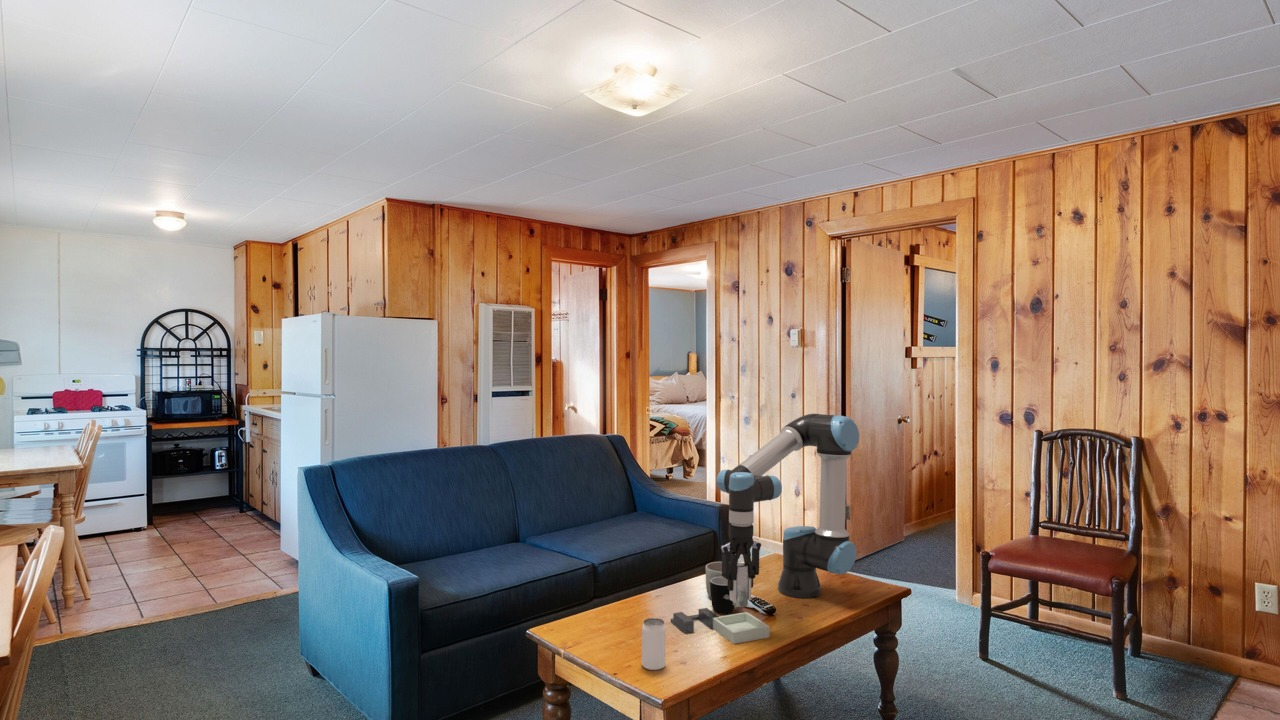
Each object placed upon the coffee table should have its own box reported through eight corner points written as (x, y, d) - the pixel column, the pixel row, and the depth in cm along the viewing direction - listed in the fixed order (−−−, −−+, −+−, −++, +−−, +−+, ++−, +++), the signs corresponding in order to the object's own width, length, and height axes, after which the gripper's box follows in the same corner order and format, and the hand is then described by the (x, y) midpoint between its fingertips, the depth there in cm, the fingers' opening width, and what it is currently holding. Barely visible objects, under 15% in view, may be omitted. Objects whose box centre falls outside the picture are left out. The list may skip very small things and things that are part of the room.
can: (651, 673, 183) (651, 628, 183) (637, 664, 188) (637, 620, 188) (670, 666, 187) (670, 622, 187) (655, 658, 192) (656, 615, 192)
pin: (750, 605, 209) (751, 566, 209) (737, 607, 207) (738, 568, 207) (742, 600, 213) (742, 562, 213) (729, 602, 212) (730, 563, 212)
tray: (746, 622, 219) (746, 612, 219) (769, 637, 207) (769, 626, 207) (712, 628, 214) (712, 617, 214) (733, 643, 202) (733, 632, 202)
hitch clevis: (703, 616, 223) (703, 605, 223) (719, 627, 214) (719, 616, 214) (670, 622, 219) (670, 611, 219) (685, 633, 210) (685, 622, 209)
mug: (721, 618, 222) (722, 586, 222) (704, 609, 230) (704, 579, 230) (749, 610, 229) (749, 580, 229) (731, 602, 236) (731, 573, 236)
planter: (740, 605, 234) (740, 573, 234) (703, 602, 236) (704, 571, 236) (741, 592, 246) (741, 562, 246) (706, 590, 249) (707, 560, 249)
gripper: (758, 518, 217) (757, 592, 217) (709, 523, 210) (709, 599, 210) (772, 523, 210) (771, 599, 210) (722, 528, 203) (721, 607, 203)
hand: (740, 599), depth 210 cm, fingers closed on pin, 5 cm apart
